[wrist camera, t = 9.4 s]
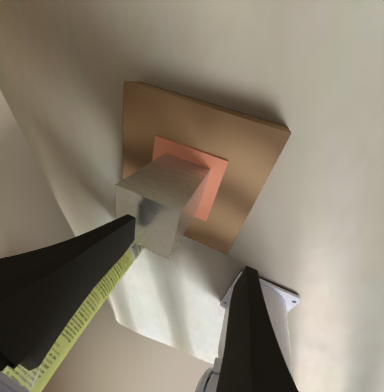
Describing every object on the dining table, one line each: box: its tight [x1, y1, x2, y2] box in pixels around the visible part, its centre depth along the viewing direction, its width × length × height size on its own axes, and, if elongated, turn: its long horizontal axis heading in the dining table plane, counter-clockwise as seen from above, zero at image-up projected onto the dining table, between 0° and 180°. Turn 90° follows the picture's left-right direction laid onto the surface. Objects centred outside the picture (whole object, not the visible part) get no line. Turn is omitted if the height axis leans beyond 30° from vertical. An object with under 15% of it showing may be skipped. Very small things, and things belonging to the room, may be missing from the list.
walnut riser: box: [122, 81, 291, 254], centre depth 19 cm, size 14×14×3 cm
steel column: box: [115, 153, 211, 259], centre depth 15 cm, size 4×4×7 cm
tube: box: [2, 243, 144, 392], centre depth 20 cm, size 6×5×20 cm
